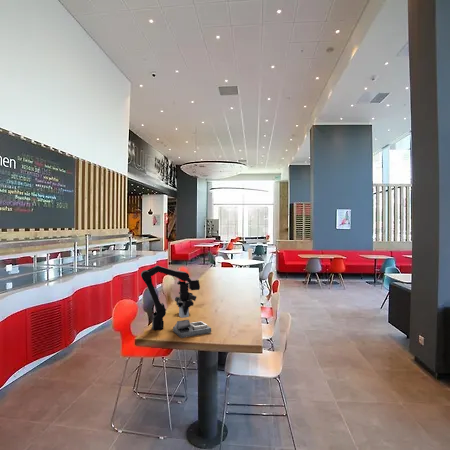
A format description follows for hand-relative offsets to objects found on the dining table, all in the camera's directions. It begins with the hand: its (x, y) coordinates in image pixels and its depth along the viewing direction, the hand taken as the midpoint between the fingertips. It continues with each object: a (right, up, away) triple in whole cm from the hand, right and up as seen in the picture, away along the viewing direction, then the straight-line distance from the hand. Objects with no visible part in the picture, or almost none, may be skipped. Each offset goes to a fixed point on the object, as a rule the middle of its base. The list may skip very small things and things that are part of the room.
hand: (183, 314), depth 208 cm
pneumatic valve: (-4, -9, +33) cm, 35 cm away
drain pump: (0, -2, 0) cm, 2 cm away
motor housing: (+7, -8, -12) cm, 16 cm away
